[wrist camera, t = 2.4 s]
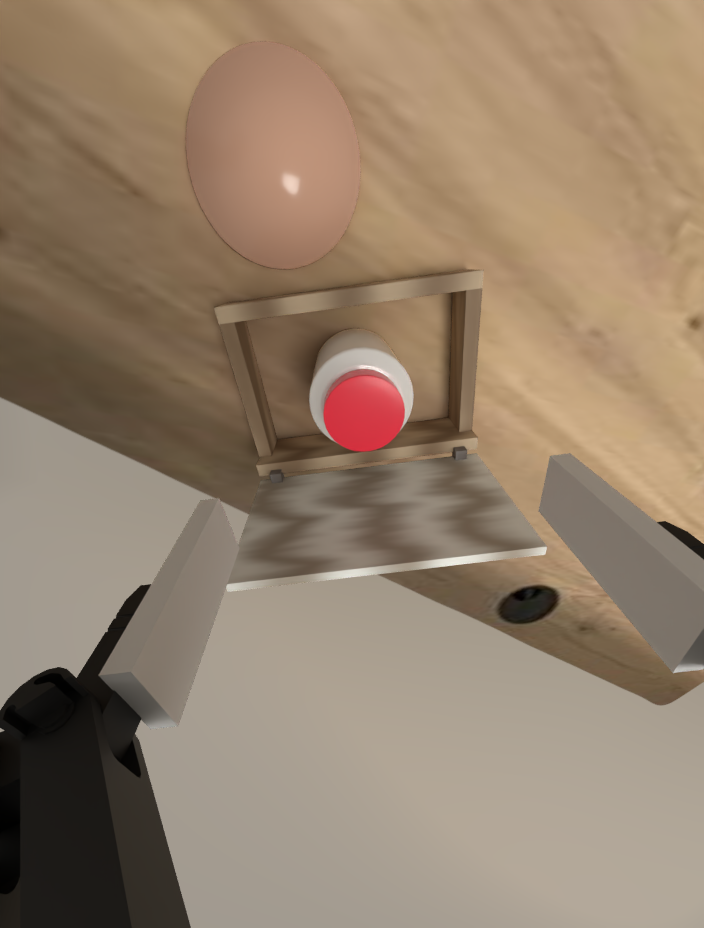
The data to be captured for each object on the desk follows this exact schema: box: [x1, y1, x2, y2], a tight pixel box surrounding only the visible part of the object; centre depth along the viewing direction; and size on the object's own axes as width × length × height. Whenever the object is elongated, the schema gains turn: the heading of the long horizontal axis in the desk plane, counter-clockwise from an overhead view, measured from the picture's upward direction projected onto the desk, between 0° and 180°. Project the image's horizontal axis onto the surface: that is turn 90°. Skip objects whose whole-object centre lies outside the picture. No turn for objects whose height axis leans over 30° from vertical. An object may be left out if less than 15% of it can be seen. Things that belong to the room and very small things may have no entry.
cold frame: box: [214, 270, 547, 592], centre depth 25 cm, size 20×16×17 cm
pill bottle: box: [309, 328, 414, 452], centre depth 27 cm, size 8×8×11 cm
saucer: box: [186, 41, 361, 269], centre depth 24 cm, size 12×12×1 cm
